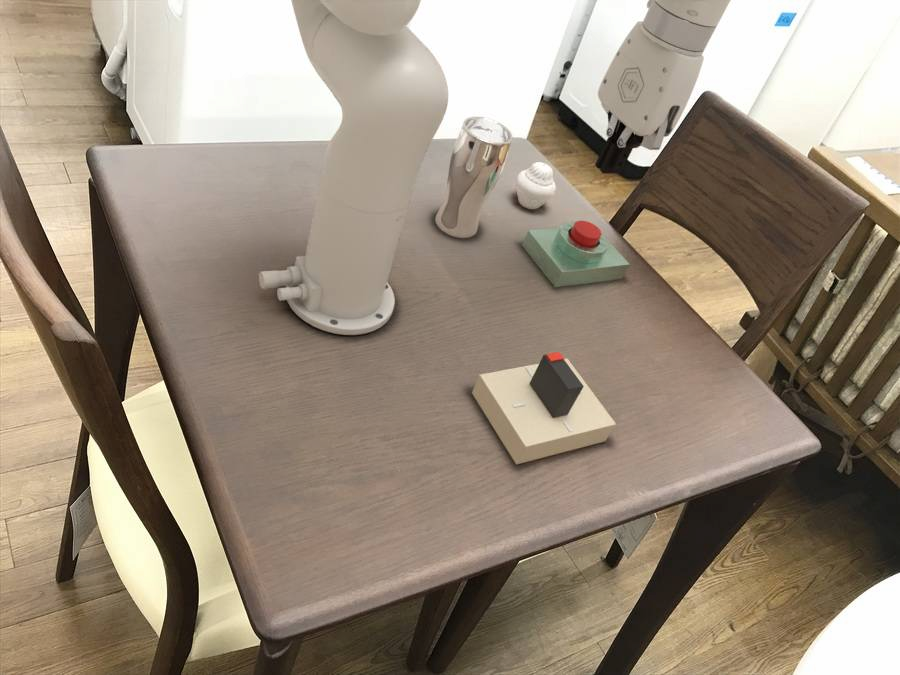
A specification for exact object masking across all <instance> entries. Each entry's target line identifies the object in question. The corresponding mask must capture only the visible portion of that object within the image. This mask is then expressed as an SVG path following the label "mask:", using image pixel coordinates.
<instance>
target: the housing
mask: <svg viewBox="0 0 900 675" xmlns="http://www.w3.org/2000/svg"><path fill="white" fill-rule="evenodd" d="M575 222H576V221H567V222H565V223H564V224H562V225H561V226H560V227H556V228H554V227H553V228H539V229H529V230H527V232H526V235H525V237H524V239H523V242H522V245H521V247H522V248H523V249H524V250H525V252H526V253H527V254H528V255H529V257H530V258H531V259H532V260H533V262H534V263H535V264H536V265H537V267H538V268H539V269H540V270H541V272H542V273H543V274H544V276H546V278H547V279H548V280H549V282H550V283H551V284H552V285H553V286H554V288H560V287H569V286H574V285H576V286H577V285H583V284H591V283H592V284H593V283H599V282H608V281H617V280H622V279H623V278H624V276H625V274H626V272H627V270H628V269H629V267H630V262H628V261H627V260H626V259H625V257H624V256H623V255H622V254H621V252H619V251H618V250H617V248H616V247H615V246H614V245H613V244H612V243H611V242H610V241H609V239H608V238H607V237H606V236H605V235H604V234H603V233H602V232H601V237H600V239H599V241H598V243H597V245H596V246H595V247H593V248H588V247H585V246H581V245H579V244H578V243H576V242H574V241H573V240H572V239H571V238H570V232H571V230H572V228H573V225H574V223H575Z"/></svg>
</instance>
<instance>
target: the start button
mask: <svg viewBox="0 0 900 675" xmlns="http://www.w3.org/2000/svg"><path fill="white" fill-rule="evenodd" d="M574 222H575V223H574V225H573V228H572V230H571V232H570V238H571V239H572V240H573V241H574V242H576V243H578V244H579V245H581V246H585V247H588V248H593V247H595V246H596V245H597V243H598V241H599V239H600V237H601V233H602V231H601V229H600V228H599V227H598V226H597V225H596V224H594V223H592V222H591V221H586V220H576V221H574Z"/></svg>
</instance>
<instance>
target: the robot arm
mask: <svg viewBox="0 0 900 675" xmlns="http://www.w3.org/2000/svg"><path fill="white" fill-rule="evenodd" d="M421 2H422V0H291V5H292V7H293V12H294V16H295V19H296V20H295V21H296V24H297V27H298V31H299V35H300V38H301V41H302V44H303V47H304V51H305V53H306V56H307V58H308V61H309V62H310V64H311V66H312V67H313V69H314V71H315V72H316V74H317V75H318V76H319V78H320V79H321V81H322V82H323V83H324V84H325V86H326V87H327V88H328V90H329V91H330V93H331V94H332V96H333V97H334V98H335V101H337V103H338V104H339V106H340V108H341V113H342V114H341V116H342V117H341V122H340V124H339V127H338V128H337V130H336V131H335V132H334V134H333V135H332V137H331V138H330V140H329V142H328V144H327V145H326V149H325V152H324V155H323V159H322V163H321V169H320V174H319V181H318V186H317V191H316V196H315V202H314V208H313V213H312V219H311V224H310V230H309V233H308V240H307V245H306V250H305V255H298V256H296V257H295V263H294V265H291V266H287V267H286V269H285V270H276V269H275V270H264V271H263V270H262V271H259V273H258V282H259V286H260V288H261V290H267V289H276V295H277V299H278V301H280V302H281V301H287V303H288V305H289V307H290V309H291V310H292V311H293V312H294V313H295V315H297V316H298V317H299V318H300V319H301V320H303V321H304V322H305V323H307V324H308V325H311V326H312V327H314V328H316V329H319V330H321V331H324V332H327V333H332V334H335V335H343V336H357V335H364V334H368V333H371V332H375V331H376V330H378V329H380V328H382V327H383V326H385V324H387V323H388V321H389V320H390V318H391V317H392V314H393V312H394V309H395V303H396V299H395V298H396V297H395V294H394V291H393V288H392V287H391V285H390V284H389V282H388V280H389V277H390V273H391V270H392V266H393V263H394V259H395V255H396V253H397V248H398V245H399V241H400V238H401V233H402V230H403V227H404V223H405V220H406V218H407V217H406V216H407V213H408V209H409V206H410V202H411V198H412V195H413V191H414V187H415V184H416V180H417V177H418V175H419V171H420V168H421V165H422V163H423V161H424V158H425V156H426V153H427V150H428V148H429V146H430V145H431V143H432V141H433V139H434V137H435V135H436V134H437V132H438V130H439V128H440V126H441V124H442V123H443V120H444V117H445V115H446V113H447V108H448V104H449V86H448V82H447V81H448V80H447V79H446V75H445V72H444V71H443V69H442V66H441V65H440V63H439V61H438V59H437V58H436V57H435V55H434V54H433V53H432V51H431V50H430V49H429V47H427V46H426V45H425V44H424V42H423V41H421V40H420V38H419V37H418V36H417V35H416V34H415V33H414V32H413V31H412V30H411V29H410V28H409V27H408V25H409V23H411V21H412V20H413V18H414V17H415V15H416V13H417V12H418V9H419V7H420V4H421ZM730 2H731V0H648V1H647V3H646V8H647V9H648V10H647V12H646V14H645V16H644V18H643V21H637V22H636V23H635V25H634V26H633V27H632V28H631V29H630V31H629V33H628V34H627V35H626V37H625V38H624V39H623V41H622V43H621V44H620V46H619V48H618V49H617V51H616V53H615V55H614V57H613V59H612V61H611V63H610V64H609V66H608V68H607V70H606V72H605V74H604V76H603V78H602V80H601V82H600V85H599V87H598V90H597V97H598V100H599V101H600V103H601V107H602V109H603V110H604V112H605V113H606V115H607V121H608V122H607V128H606V131H605V134H606V137H607V138H606V141H605V144H604V145H603V147H602V149H601V152H600V154H599V156H598V158H597V160H596V162H595V164H594V166H595V167H596V168H597V169H598V170H599V171H600V172H601V173H602V174H620V173H621V172H622V171H623V169H624V167H625V165H626V163H627V161H628V159H629V157H630V155H631V153H632V152H633V149H638V148H640V147H643V148H644V149H647V150H649V151H659V150H660V149H661V147H662V143H663V142H664V141H663V140H664V138H666V137H669V136H670V135H671V134H672V132H673V131H674V129H675V128H676V126H677V124H678V122H679V121H680V119H681V117H682V115H683V113H684V111H685V109H686V107H687V106H688V102H689V100H690V98H691V96H692V93H693V91H694V88H695V86H696V83H697V81H698V78H699V75H700V72H701V70H702V66H703V62H704V60H705V56H704V55H703V54H704V51H705V49H706V48H707V45H709V42H710V40H711V38H712V36H713V35H714V32H715V30H716V28H717V27H718V25H719V23H720V21H721V20H722V17H723V16H724V13H725V11H727V8H728V6H729V4H730Z"/></svg>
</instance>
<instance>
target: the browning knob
mask: <svg viewBox="0 0 900 675" xmlns="http://www.w3.org/2000/svg"><path fill="white" fill-rule="evenodd" d="M564 359H565V358H564V356H563V354H561V352H560V351H557V352H551V353H545V354H543V355H542V358H541V359H540V361H539V363H538V364H539V365H538V367H537V369H536V371H535V373H534V375H533V377H532V379H531V381H530V385H531V387H532V388H533V389H534V391H535V392H536V394H537V395H538V397H539V398H540V400H541V401H542V403H543V404H544V406H545V407H546V409H547V410H548V411H549V413H550V414H551V416H552V417H553V418H555V417H559V416H564V415H568V413H569V411H570V410H571V408H572V406H573V404H574V403H575V401H576V399H577V397H578V396H579V394H580V392H581V390H582V389H583V387H584V386H583V385H582V383H581V382H580V380H579V379H578V378H577V376H576V375H575V374H574V372H573V371H572V370H571V368H570V367H569V366H568V364H567V363H566V361H565V360H564Z"/></svg>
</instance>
